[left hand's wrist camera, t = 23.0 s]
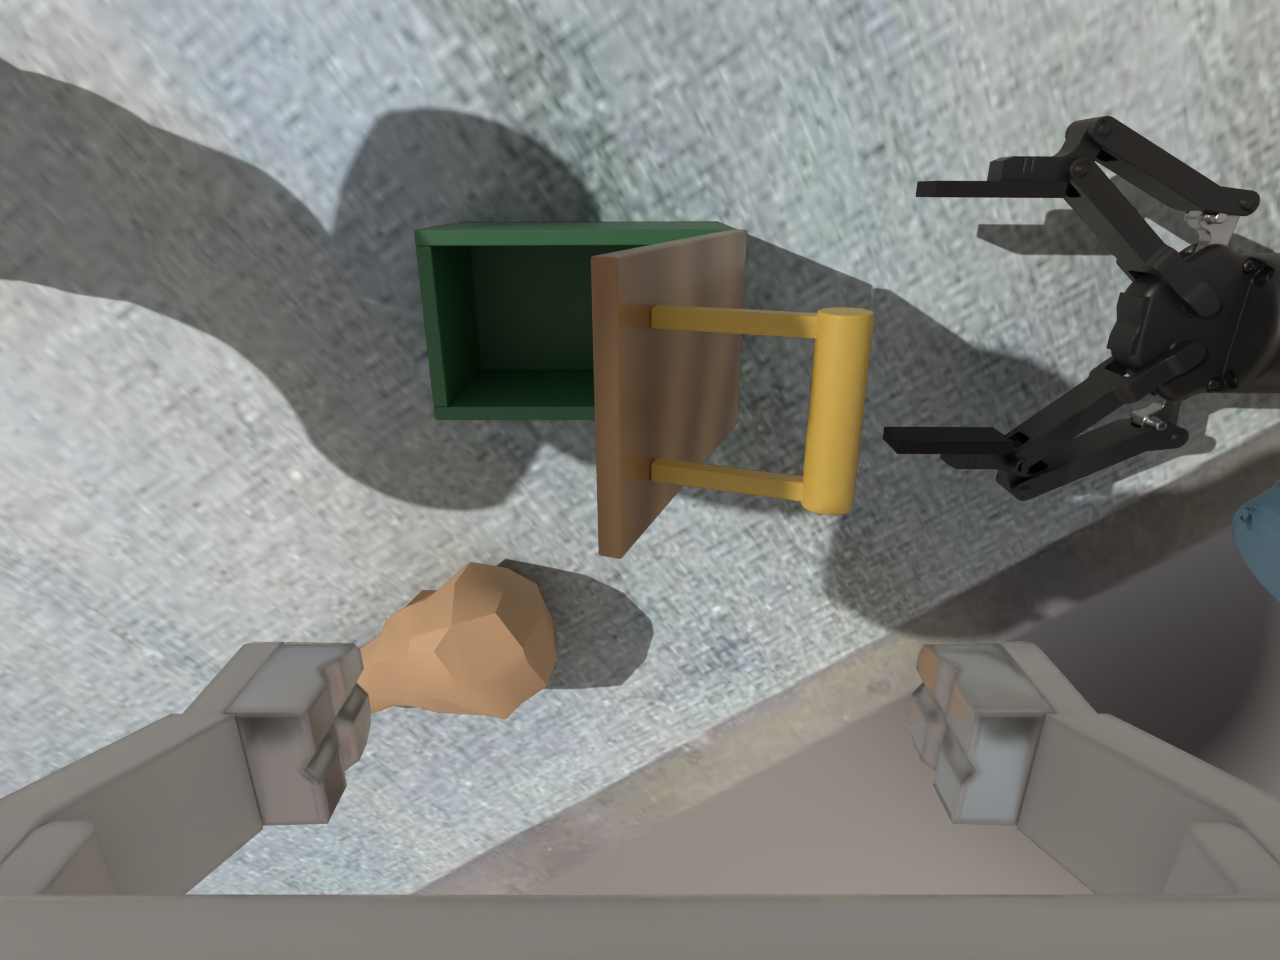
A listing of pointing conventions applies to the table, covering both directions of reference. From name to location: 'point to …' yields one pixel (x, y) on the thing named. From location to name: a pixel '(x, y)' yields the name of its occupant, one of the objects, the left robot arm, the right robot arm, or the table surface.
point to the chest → (520, 312)
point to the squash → (464, 647)
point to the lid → (706, 383)
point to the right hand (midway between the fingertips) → (906, 322)
